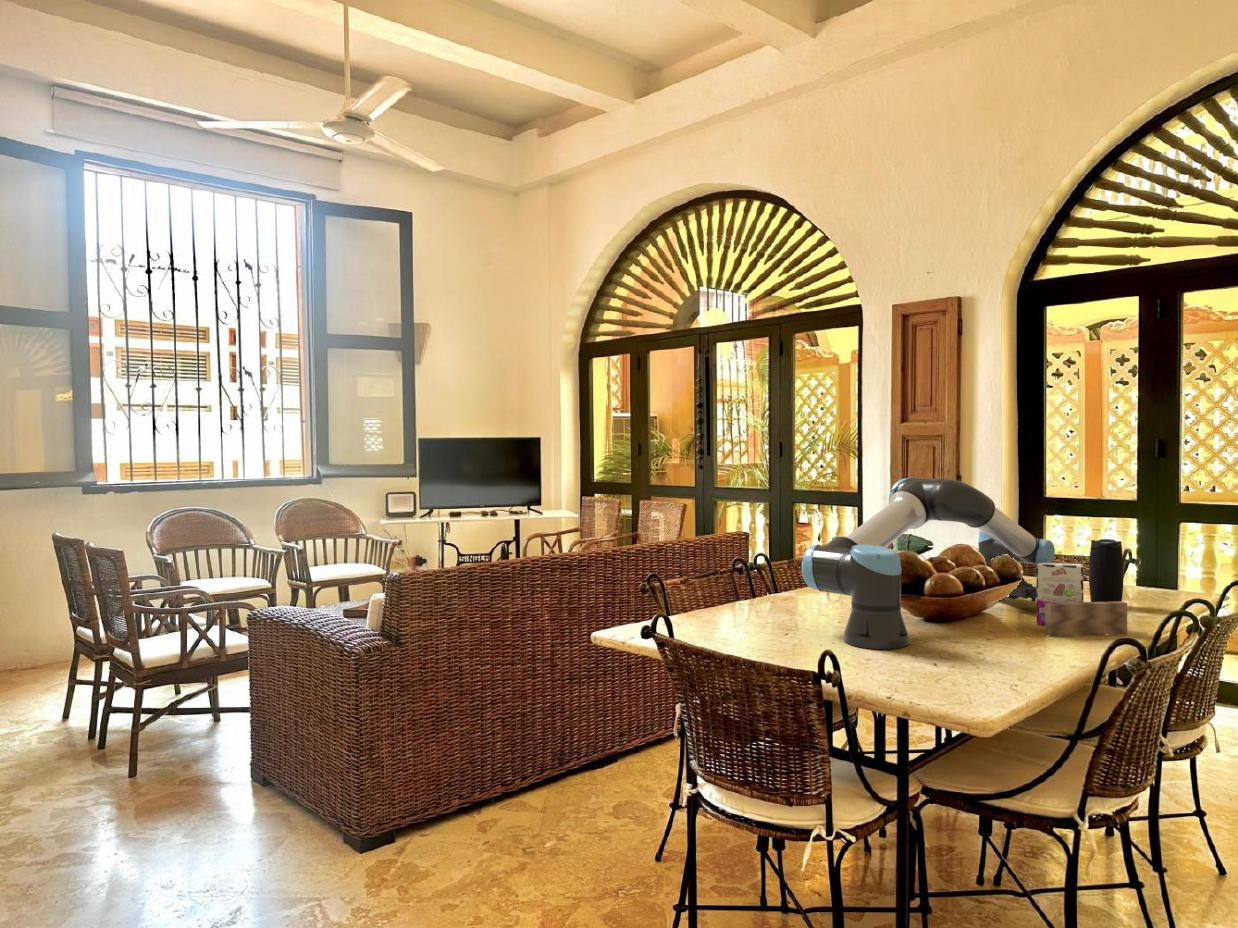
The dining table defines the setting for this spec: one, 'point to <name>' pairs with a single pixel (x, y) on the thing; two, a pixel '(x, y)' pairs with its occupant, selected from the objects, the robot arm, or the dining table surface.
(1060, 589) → the candy bar box
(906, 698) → the dining table surface
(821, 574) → the robot arm
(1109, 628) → the walnut board
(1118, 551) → the portable speaker
